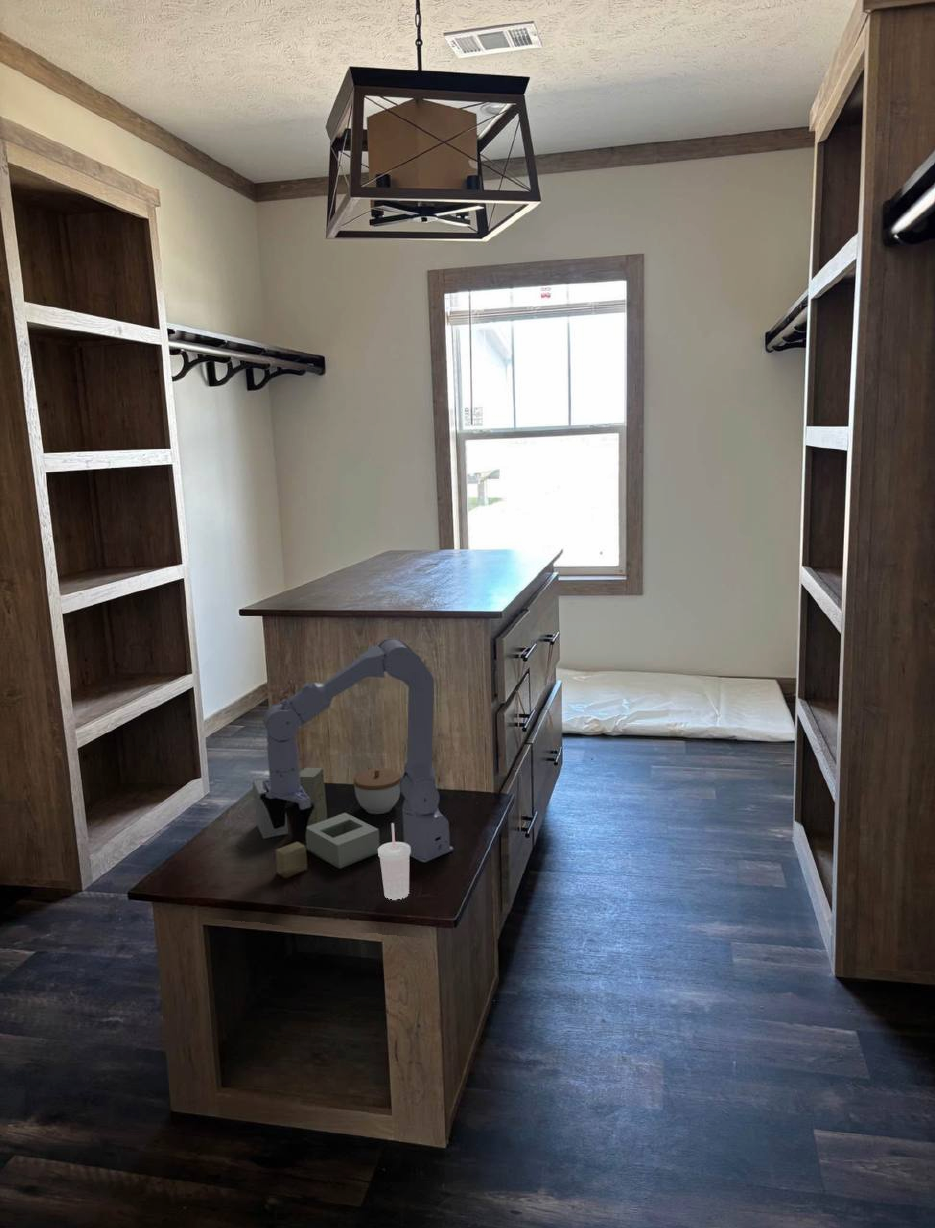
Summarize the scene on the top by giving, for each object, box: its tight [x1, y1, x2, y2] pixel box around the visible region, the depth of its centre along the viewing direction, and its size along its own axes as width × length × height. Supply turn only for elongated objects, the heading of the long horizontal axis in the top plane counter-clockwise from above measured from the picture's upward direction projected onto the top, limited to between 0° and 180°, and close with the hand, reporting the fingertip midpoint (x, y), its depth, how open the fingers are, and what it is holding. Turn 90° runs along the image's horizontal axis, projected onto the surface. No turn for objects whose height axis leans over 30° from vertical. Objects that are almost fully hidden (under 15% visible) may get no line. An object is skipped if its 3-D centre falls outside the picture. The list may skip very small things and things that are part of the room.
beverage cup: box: [377, 822, 411, 901], centre depth 165 cm, size 6×6×14 cm
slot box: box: [305, 812, 381, 869], centre depth 184 cm, size 12×10×5 cm
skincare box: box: [299, 766, 328, 826], centre depth 197 cm, size 6×4×12 cm
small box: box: [252, 778, 289, 840], centre depth 195 cm, size 8×6×10 cm
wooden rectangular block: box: [275, 841, 308, 879], centre depth 177 cm, size 3×5×5 cm, turn 132°
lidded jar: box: [353, 767, 402, 815], centre depth 205 cm, size 11×11×9 cm
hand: (289, 833), depth 176 cm, fingers open, 7 cm apart
